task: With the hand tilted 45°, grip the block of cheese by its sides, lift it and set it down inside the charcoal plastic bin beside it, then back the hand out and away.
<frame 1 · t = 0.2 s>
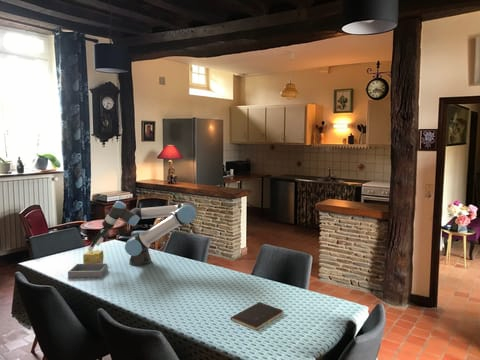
hand: (93, 247, 253), 15 cm above the table, tool tilted 35°, fingers open, 13 cm apart
hardcover book: (257, 318, 189), on the table
cheese: (93, 266, 261), on the table
bin: (88, 274, 245), on the table
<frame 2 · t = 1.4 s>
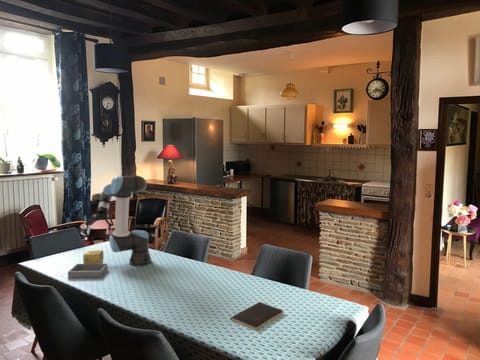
hand: (97, 233, 269), 20 cm above the table, tool tilted 45°, fingers open, 13 cm apart
nothing on the table moved.
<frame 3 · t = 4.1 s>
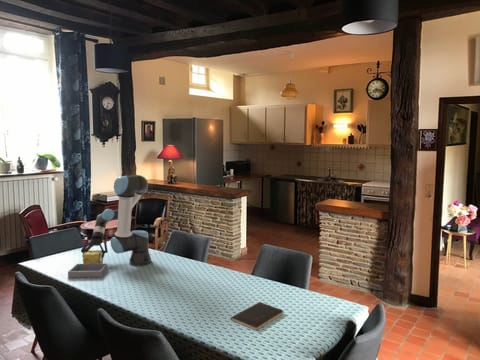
hand: (91, 261, 257), 4 cm above the table, tool tilted 45°, fingers closed on cheese, 11 cm apart
cheese: (93, 266, 260), on the table, touching gripper
everything else where it was.
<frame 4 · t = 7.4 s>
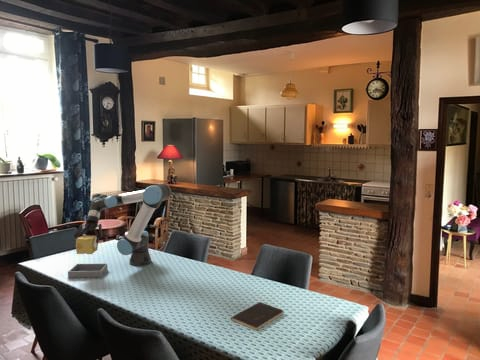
hand: (85, 246, 240), 19 cm above the table, tool tilted 45°, fingers closed on cheese, 11 cm apart
cheese: (87, 252, 244), point 15 cm above the table, touching gripper
everything else where it was.
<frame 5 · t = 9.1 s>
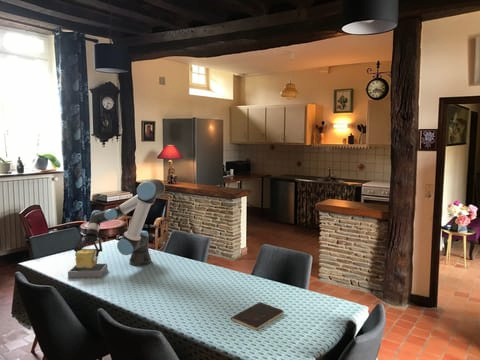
hand: (85, 260, 241), 10 cm above the table, tool tilted 45°, fingers closed on cheese, 11 cm apart
cheese: (86, 265, 244), point 6 cm above the table, touching gripper
everything else where it was.
when the fingers open (6 cm above the table, at t = 10.5 s): cheese drops 1 cm, resting on bin.
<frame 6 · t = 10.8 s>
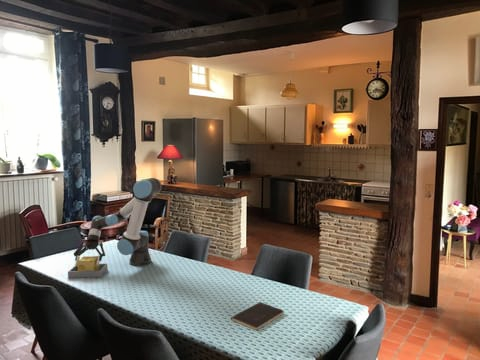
hand: (86, 265, 242), 7 cm above the table, tool tilted 45°, fingers open, 13 cm apart
cheese: (88, 273, 245), point 1 cm above the table, touching bin
everything else where it was.
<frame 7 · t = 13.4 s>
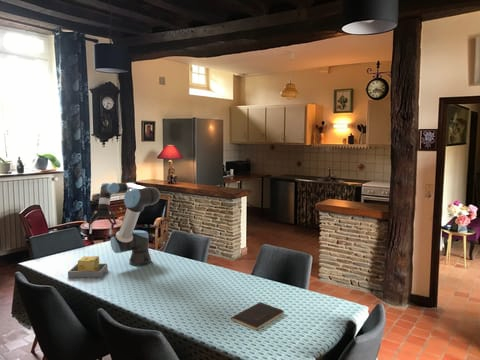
hand: (100, 233, 263), 22 cm above the table, tool tilted 25°, fingers open, 13 cm apart
nothing on the table moved.
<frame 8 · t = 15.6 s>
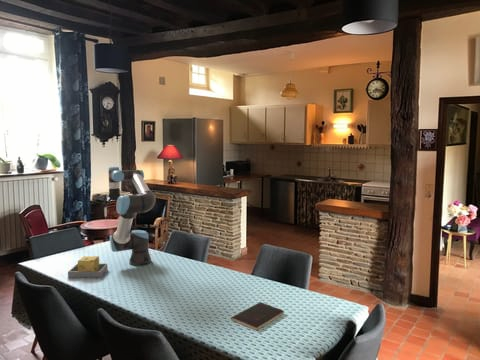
hand: (115, 216, 275), 32 cm above the table, tool pointing down, fingers open, 13 cm apart
nothing on the table moved.
at the end: cheese inside the target area on the bin (0.1 cm from its centre), point 0.6 cm above the bin's base; cheese tilted 0°; the gripper is holding nothing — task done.
